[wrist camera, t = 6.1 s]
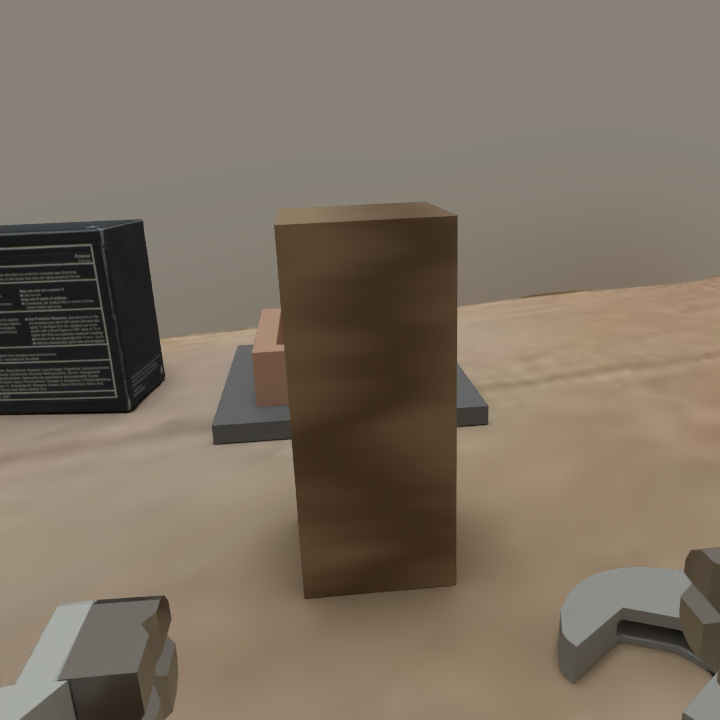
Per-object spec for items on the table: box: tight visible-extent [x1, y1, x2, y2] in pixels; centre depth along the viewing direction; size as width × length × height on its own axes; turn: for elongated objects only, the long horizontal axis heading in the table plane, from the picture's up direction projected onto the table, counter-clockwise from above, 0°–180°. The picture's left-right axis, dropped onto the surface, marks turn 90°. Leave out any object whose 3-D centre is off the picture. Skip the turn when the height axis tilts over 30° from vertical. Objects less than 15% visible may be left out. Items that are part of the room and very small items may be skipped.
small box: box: [0, 219, 165, 414], centre depth 39 cm, size 11×6×10 cm, turn 87°
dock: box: [212, 308, 488, 444], centre depth 39 cm, size 14×14×4 cm
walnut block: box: [274, 202, 457, 599], centre depth 22 cm, size 5×5×12 cm
